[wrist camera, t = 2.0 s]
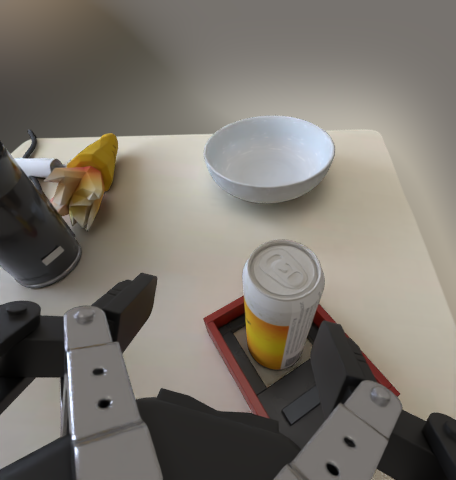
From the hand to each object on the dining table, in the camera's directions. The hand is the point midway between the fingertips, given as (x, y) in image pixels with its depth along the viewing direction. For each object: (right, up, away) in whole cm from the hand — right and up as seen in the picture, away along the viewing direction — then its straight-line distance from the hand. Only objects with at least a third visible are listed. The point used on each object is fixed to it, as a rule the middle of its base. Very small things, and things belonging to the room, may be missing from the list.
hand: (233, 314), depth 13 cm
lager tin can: (+5, -8, +19) cm, 21 cm away
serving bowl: (+7, +14, +38) cm, 41 cm away
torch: (-24, +13, +40) cm, 48 cm away
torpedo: (-37, +17, +44) cm, 60 cm away
